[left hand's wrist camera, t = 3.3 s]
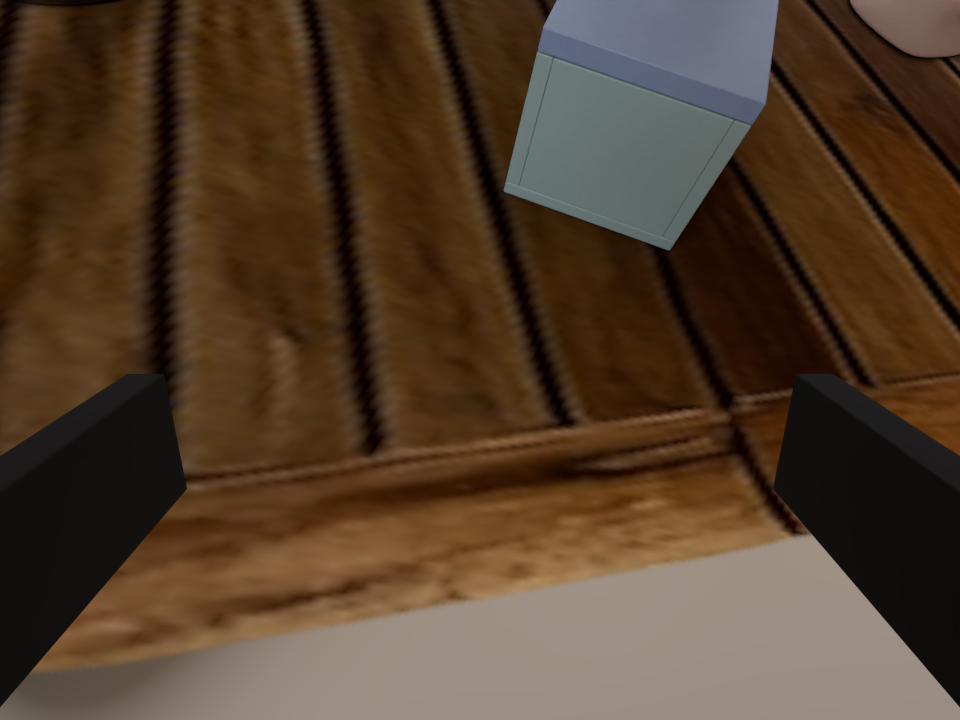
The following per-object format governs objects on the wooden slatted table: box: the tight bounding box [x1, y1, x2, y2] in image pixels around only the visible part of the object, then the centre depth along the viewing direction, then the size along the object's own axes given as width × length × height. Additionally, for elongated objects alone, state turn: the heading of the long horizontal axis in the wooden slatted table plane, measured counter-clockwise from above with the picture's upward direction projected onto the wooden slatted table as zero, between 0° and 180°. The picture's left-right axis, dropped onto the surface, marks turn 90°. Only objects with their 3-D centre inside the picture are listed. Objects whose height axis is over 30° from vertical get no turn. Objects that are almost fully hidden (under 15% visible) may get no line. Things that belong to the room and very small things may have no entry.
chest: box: [504, 51, 751, 250], centre depth 34 cm, size 17×10×9 cm, turn 161°
